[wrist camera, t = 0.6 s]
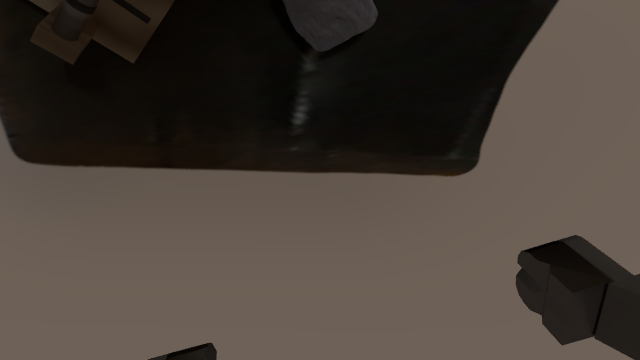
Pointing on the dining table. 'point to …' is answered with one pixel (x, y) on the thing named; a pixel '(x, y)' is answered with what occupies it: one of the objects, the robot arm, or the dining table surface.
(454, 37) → the dining table surface
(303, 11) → the stone block
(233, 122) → the dining table surface
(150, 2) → the pipe stand
